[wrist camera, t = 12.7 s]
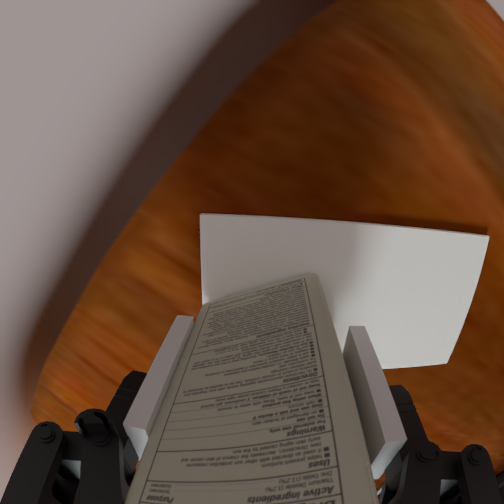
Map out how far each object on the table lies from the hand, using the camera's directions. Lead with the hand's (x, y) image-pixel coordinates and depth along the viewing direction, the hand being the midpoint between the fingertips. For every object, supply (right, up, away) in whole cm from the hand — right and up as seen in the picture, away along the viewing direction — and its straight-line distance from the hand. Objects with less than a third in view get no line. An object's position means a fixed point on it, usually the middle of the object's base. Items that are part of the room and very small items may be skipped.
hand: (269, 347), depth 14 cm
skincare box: (0, +1, +2) cm, 2 cm away
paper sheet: (+5, +2, +2) cm, 5 cm away
